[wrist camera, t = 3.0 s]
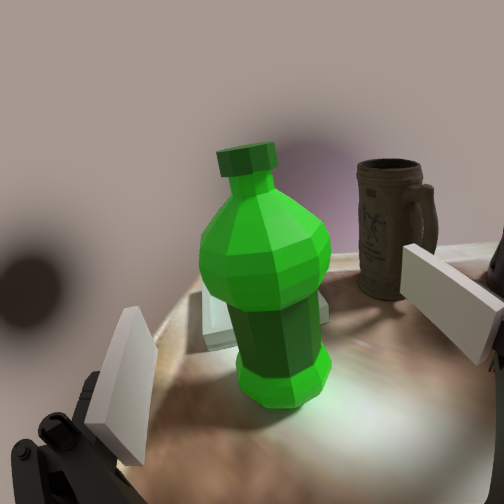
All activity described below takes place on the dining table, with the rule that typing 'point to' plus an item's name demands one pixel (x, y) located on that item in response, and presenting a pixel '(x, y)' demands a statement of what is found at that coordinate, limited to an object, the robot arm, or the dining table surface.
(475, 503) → the dining table surface
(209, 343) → the tray
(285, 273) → the plastic bottle
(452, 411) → the dining table surface
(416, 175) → the beer stein
